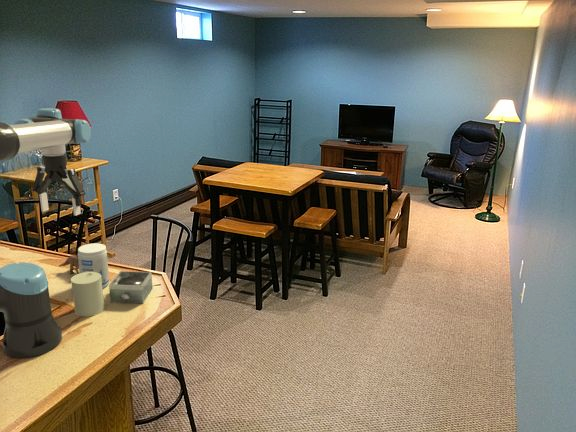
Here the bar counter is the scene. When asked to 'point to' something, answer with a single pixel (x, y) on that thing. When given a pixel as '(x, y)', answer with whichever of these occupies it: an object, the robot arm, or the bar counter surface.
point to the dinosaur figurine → (72, 263)
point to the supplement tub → (94, 260)
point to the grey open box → (130, 287)
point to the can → (87, 293)
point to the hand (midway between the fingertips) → (61, 212)
